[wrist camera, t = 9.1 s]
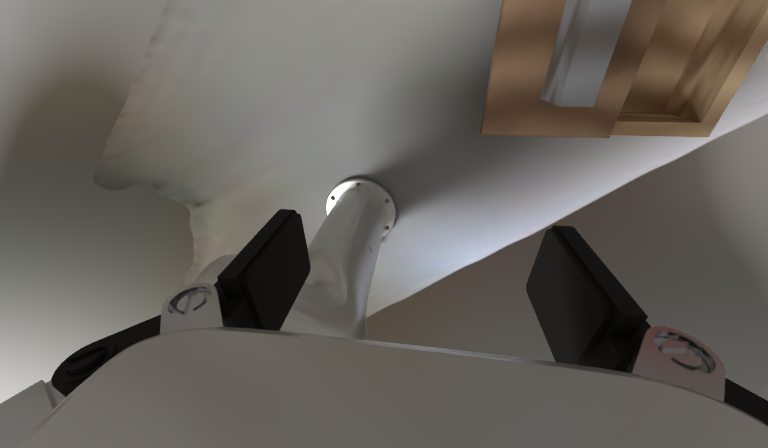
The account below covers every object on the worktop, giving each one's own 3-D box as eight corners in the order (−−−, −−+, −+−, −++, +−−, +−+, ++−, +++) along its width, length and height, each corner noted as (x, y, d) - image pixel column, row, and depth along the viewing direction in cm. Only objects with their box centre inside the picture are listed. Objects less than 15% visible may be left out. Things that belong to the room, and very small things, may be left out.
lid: (603, 135, 32) (637, 151, 27) (479, 132, 34) (489, 147, 29) (694, -89, 23) (774, -130, 17) (515, -78, 24) (540, -113, 19)
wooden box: (663, 123, 37) (708, 137, 31) (552, 121, 39) (575, 134, 33) (759, -66, 27) (850, -98, 22) (606, -58, 29) (652, -86, 23)
